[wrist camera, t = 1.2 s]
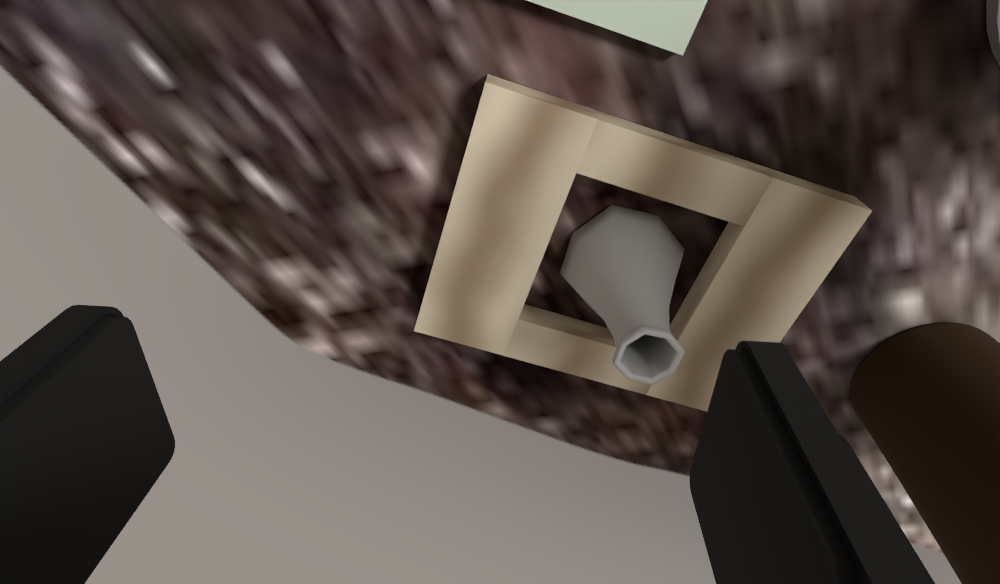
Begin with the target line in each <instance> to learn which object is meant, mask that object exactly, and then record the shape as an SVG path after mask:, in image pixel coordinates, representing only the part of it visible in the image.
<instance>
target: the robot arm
mask: <svg viewBox="0 0 1000 584" xmlns="http://www.w3.org/2000/svg"><path fill="white" fill-rule="evenodd" d="M986 25H987V34H988V38H989V42H990V46H991V50H992V53H993V55H994V57H995V58H996V60H997V62H998V64H999V65H1000V0H987V4H986ZM174 448H175V439H174V436H173V433H172V430H171V427H170V425H169V422H168V419H167V416H166V414H165V411H164V409H163V405H162V403H161V400H160V397H159V395H158V392H157V389H156V386H155V384H154V381H153V378H152V375H151V373H150V370H149V367H148V364H147V362H146V359H145V356H144V354H143V351H142V348H141V345H140V343H139V340H138V337H137V334H136V331H135V329H134V326H133V324H132V322H131V320H129V319H128V318H126V317H124V316H123V314H122V313H121V312H120V311H119V310H118V309H117V308H114V307H107V306H87V305H75V306H71V307H69V308H68V309H66V310H65V311H63V312H62V313H61V314H59V315H58V316H57V317H56V318H54V319H53V320H52V321H51V322H49V323H48V324H47V325H46V326H44V327H43V328H42V329H41V330H39V331H38V332H37V333H35V334H34V335H33V336H32V337H30V338H29V339H28V340H27V341H25V342H24V343H23V344H22V345H20V346H19V347H18V348H17V349H15V350H14V351H13V352H11V353H10V354H9V355H8V356H7V357H5V358H4V359H3V360H1V361H0V584H84V583H85V582H86V580H87V579H88V577H89V576H90V575H91V573H92V572H93V571H94V569H95V568H96V566H97V565H98V563H99V562H100V561H101V559H102V558H103V556H104V555H105V553H106V552H107V551H108V549H109V548H110V546H111V545H112V543H113V542H114V540H115V539H116V538H117V536H118V535H119V533H120V532H121V531H122V529H123V528H124V526H125V525H126V523H127V522H128V521H129V519H130V518H131V516H132V515H133V513H134V512H135V511H136V509H137V508H138V506H139V505H140V503H141V502H142V500H143V499H144V497H145V496H146V495H147V493H148V492H149V490H150V489H151V488H152V486H153V485H154V483H155V482H156V480H157V479H158V477H159V476H160V475H161V473H162V472H163V470H164V469H165V468H166V466H167V464H168V463H169V461H170V460H171V458H172V456H173V453H174ZM690 489H691V494H692V497H693V501H694V505H695V509H696V512H697V515H698V519H699V523H700V527H701V530H702V534H703V537H704V541H705V545H706V548H707V552H708V555H709V559H710V563H711V566H712V569H713V573H714V577H715V581H716V584H935V583H934V581H933V580H932V578H931V576H930V575H929V573H928V572H927V570H926V568H925V567H924V565H923V563H922V562H921V560H920V558H919V557H918V555H917V554H916V552H915V550H914V549H913V547H912V545H911V544H910V542H909V541H908V539H907V537H906V536H905V534H904V532H903V531H902V529H901V527H900V526H899V524H898V523H897V521H896V519H895V518H894V516H893V514H892V513H891V511H890V510H889V508H888V506H887V505H886V503H885V501H884V500H883V498H882V497H881V495H880V493H879V492H878V490H877V488H876V487H875V485H874V484H873V482H872V480H871V479H870V477H869V475H868V474H867V472H866V471H865V469H864V467H863V466H862V464H861V462H860V461H859V459H858V458H857V456H856V454H855V453H854V451H853V449H852V448H851V446H850V445H849V444H848V442H847V441H846V440H845V439H844V437H843V436H841V435H839V434H837V432H836V430H835V429H834V427H833V425H832V424H831V422H830V421H829V419H828V417H827V416H826V414H825V412H824V411H823V409H822V407H821V406H820V404H819V402H818V401H817V399H816V397H815V396H814V394H813V392H812V391H811V389H810V387H809V386H808V384H807V382H806V381H805V379H804V377H803V376H802V374H801V373H800V371H799V369H798V368H797V366H796V364H795V363H794V361H793V359H792V358H791V356H790V354H789V353H788V351H787V349H786V348H785V347H784V345H783V344H781V343H778V342H761V341H741V342H739V343H738V345H737V346H736V349H735V350H734V349H728V350H726V351H725V353H724V355H723V358H722V362H721V365H720V369H719V372H718V376H717V379H716V383H715V386H714V390H713V393H712V397H711V400H710V404H709V407H708V411H707V414H706V418H705V421H704V425H703V428H702V432H701V435H700V439H699V442H698V446H697V449H696V453H695V456H694V460H693V463H692V467H691V471H690Z"/></svg>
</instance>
